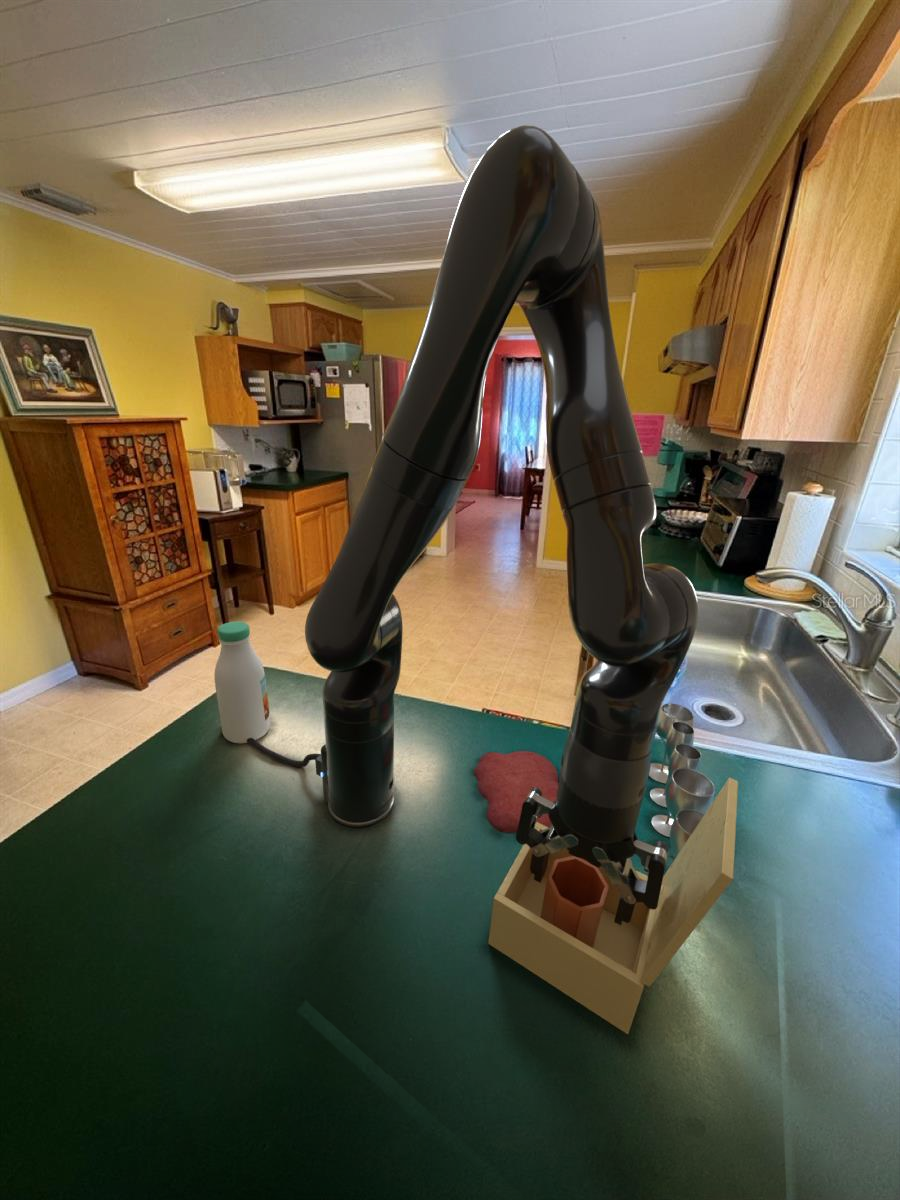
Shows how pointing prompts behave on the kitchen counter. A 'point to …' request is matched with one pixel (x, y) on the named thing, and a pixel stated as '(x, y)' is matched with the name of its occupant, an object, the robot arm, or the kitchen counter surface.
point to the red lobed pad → (514, 785)
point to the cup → (575, 898)
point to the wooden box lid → (693, 881)
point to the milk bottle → (240, 686)
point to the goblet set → (679, 778)
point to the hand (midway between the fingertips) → (577, 895)
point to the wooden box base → (573, 943)
